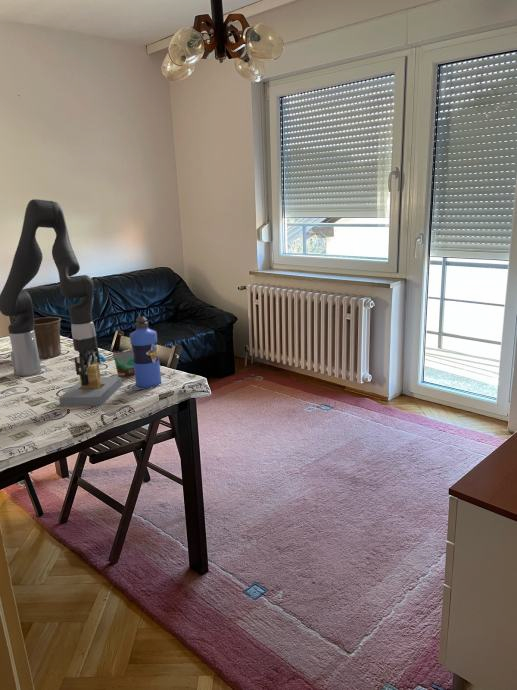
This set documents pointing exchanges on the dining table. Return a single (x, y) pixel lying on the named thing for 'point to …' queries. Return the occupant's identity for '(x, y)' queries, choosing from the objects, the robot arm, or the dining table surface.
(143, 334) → the water bottle
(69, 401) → the keyed plate
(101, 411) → the dining table surface
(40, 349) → the plant pot
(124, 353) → the food container
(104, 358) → the gear
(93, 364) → the keyed peg
